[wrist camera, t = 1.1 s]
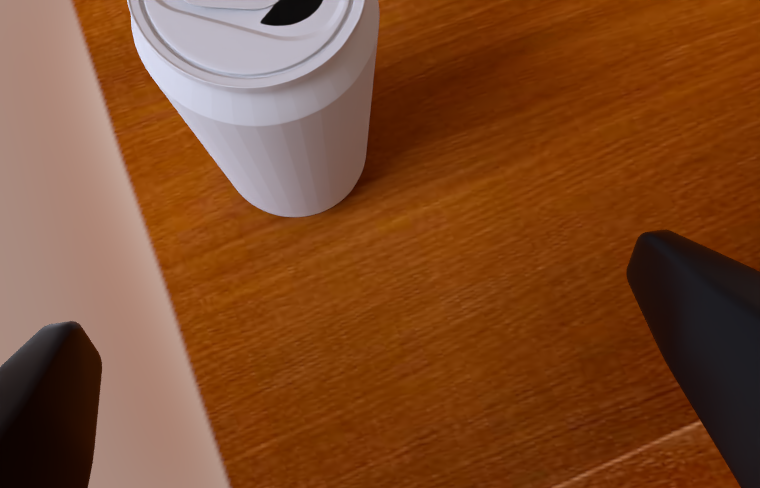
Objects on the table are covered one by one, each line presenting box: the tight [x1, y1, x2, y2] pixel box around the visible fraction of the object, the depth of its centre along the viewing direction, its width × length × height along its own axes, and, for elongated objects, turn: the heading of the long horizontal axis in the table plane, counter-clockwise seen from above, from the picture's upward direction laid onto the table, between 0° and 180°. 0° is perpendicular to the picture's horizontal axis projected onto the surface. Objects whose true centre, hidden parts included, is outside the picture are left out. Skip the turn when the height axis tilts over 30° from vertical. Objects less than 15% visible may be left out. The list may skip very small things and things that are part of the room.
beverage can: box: [127, 0, 379, 217], centre depth 18 cm, size 6×6×12 cm
